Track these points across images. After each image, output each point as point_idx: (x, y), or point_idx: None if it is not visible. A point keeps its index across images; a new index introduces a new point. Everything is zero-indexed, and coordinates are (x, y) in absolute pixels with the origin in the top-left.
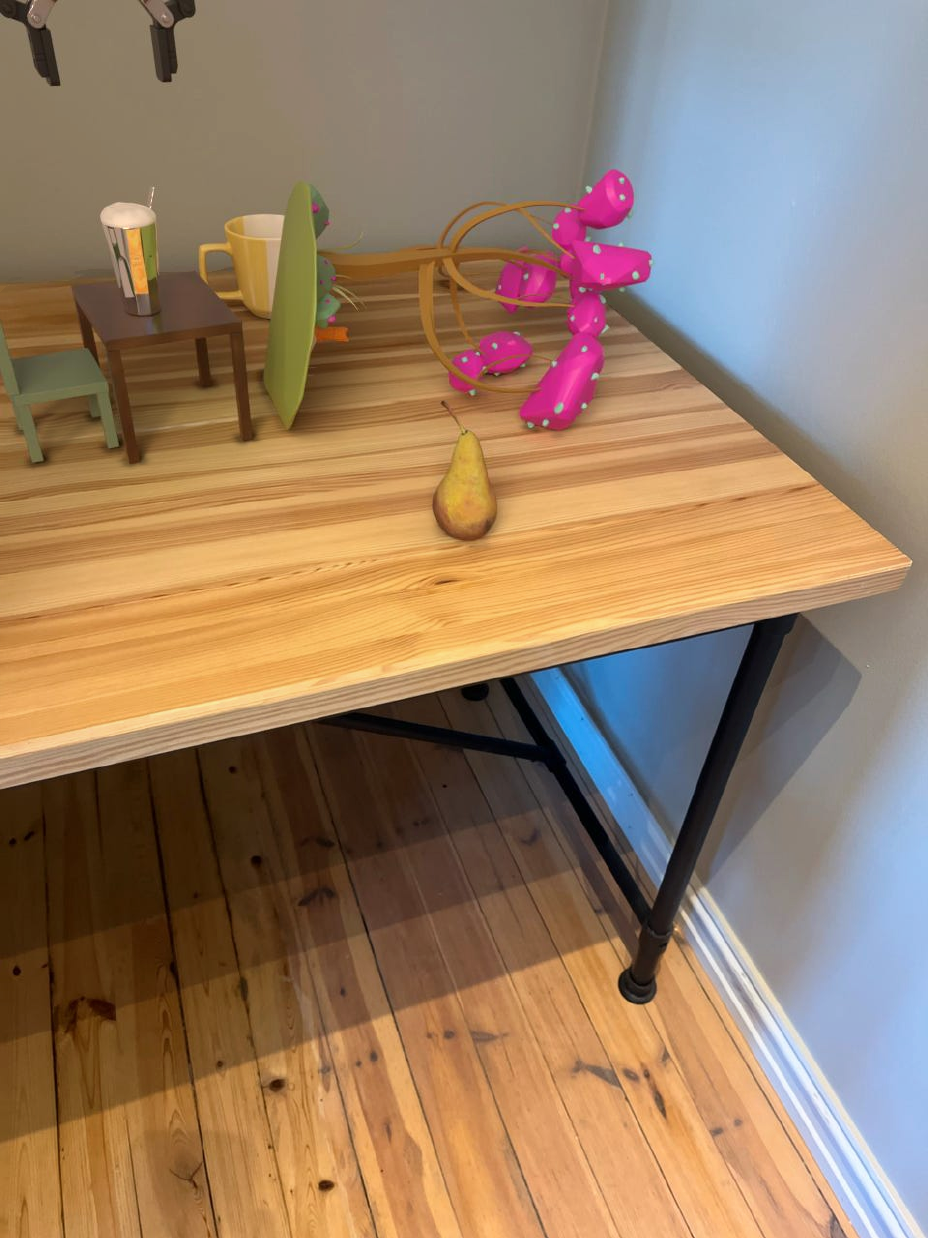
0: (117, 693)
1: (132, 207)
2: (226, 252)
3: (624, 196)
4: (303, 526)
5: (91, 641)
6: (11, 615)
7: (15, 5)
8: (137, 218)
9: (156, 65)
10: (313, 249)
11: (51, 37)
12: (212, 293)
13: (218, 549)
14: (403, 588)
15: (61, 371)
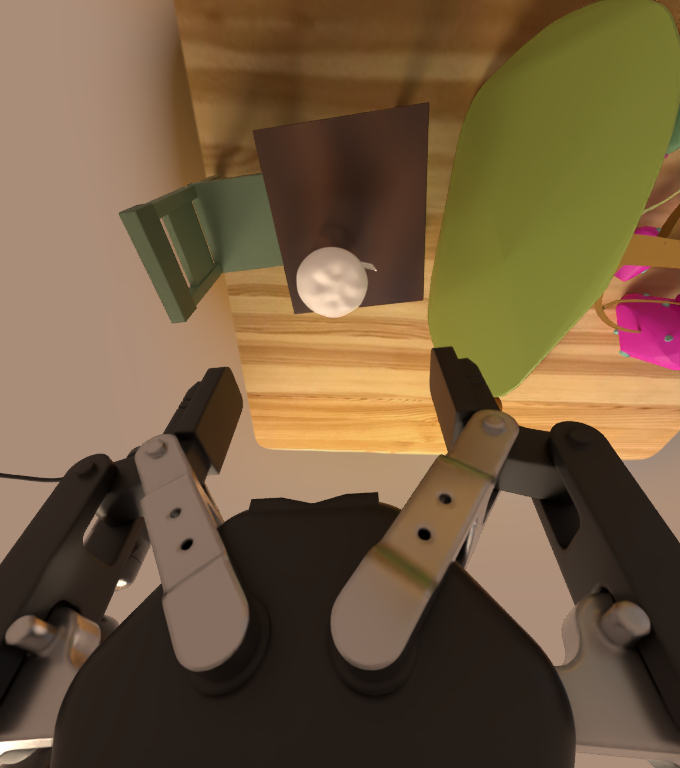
0: (292, 438)
1: (338, 298)
2: None
3: None
4: (398, 367)
5: (282, 414)
6: (246, 391)
7: (143, 519)
8: (340, 316)
9: (435, 370)
10: (500, 392)
11: (222, 462)
12: (421, 211)
13: (347, 373)
14: (422, 420)
15: (252, 230)
